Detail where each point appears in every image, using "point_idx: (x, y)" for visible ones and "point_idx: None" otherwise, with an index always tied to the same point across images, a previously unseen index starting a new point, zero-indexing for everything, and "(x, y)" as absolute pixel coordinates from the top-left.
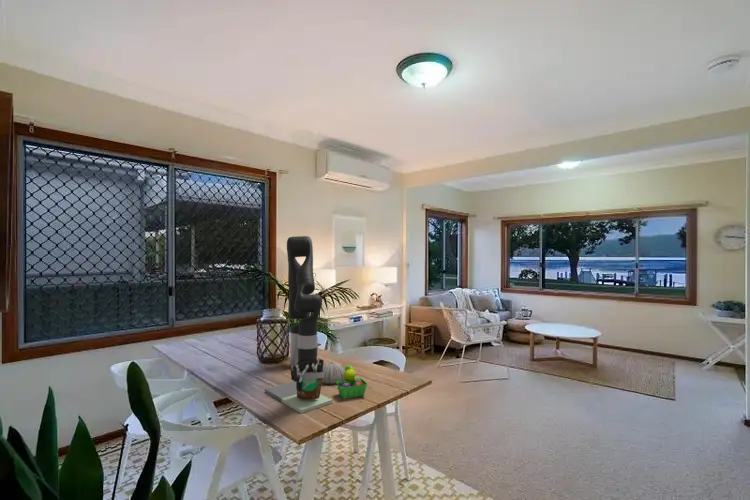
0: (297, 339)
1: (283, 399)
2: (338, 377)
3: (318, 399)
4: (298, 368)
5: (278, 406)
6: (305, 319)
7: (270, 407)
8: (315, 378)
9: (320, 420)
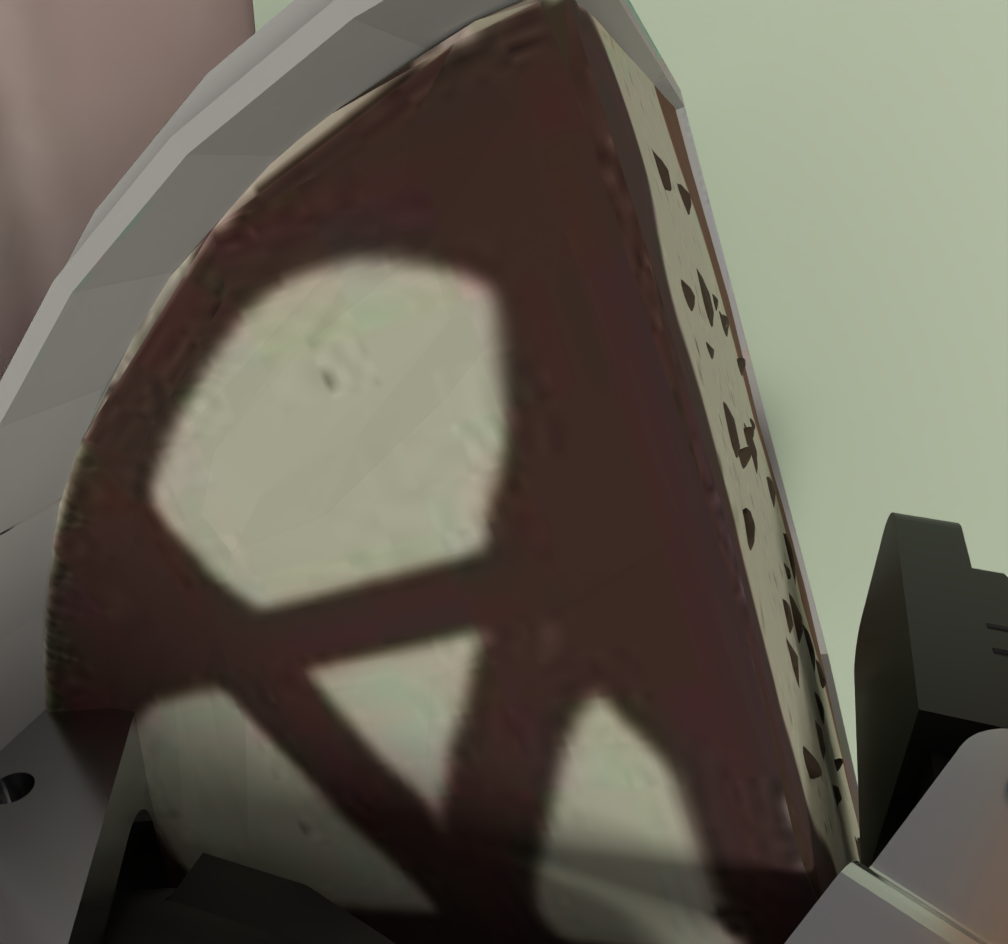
0: None
1: (260, 22)
2: None
3: (830, 612)
4: (289, 82)
5: (159, 127)
6: None
7: (29, 53)
8: None
9: None
